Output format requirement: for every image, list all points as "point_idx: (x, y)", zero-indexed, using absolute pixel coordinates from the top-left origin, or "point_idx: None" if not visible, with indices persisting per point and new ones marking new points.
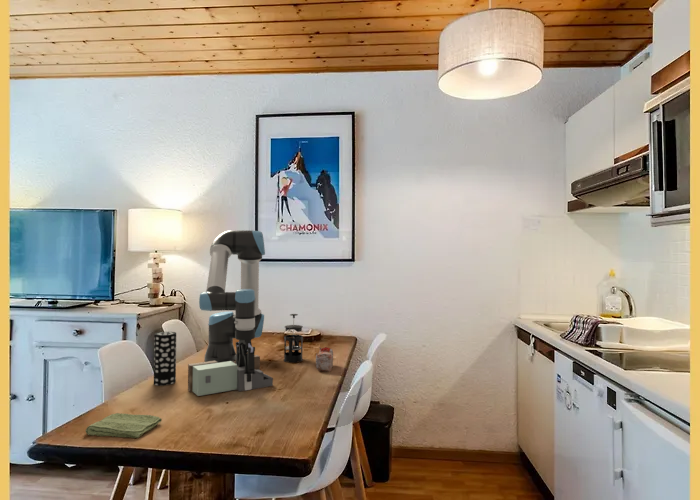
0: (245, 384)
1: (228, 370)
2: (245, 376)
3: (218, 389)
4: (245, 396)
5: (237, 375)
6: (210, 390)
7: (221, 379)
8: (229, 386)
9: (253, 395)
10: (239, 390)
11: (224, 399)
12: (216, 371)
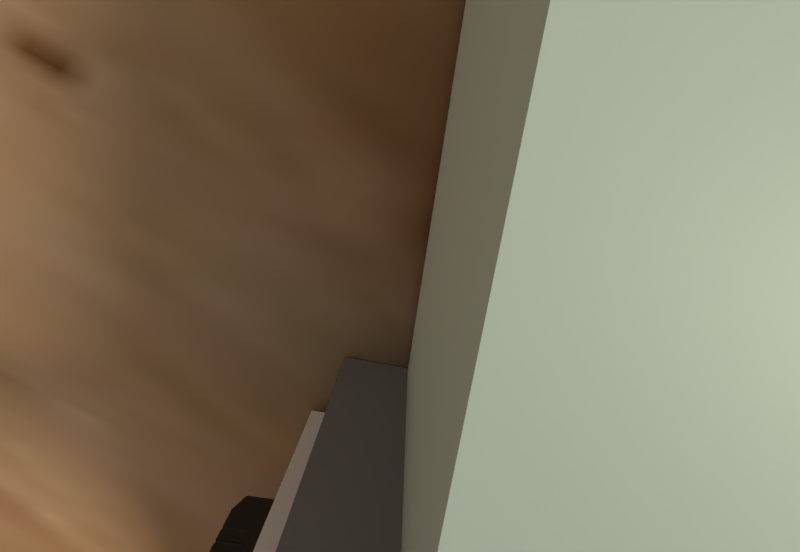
0: (293, 457)
1: (431, 415)
2: (255, 549)
3: (446, 143)
4: (148, 323)
5: (391, 492)
6: (466, 11)
7: (452, 197)
8: (421, 301)
9: (135, 395)
10: (343, 366)
11: (176, 88)
12: (510, 19)
